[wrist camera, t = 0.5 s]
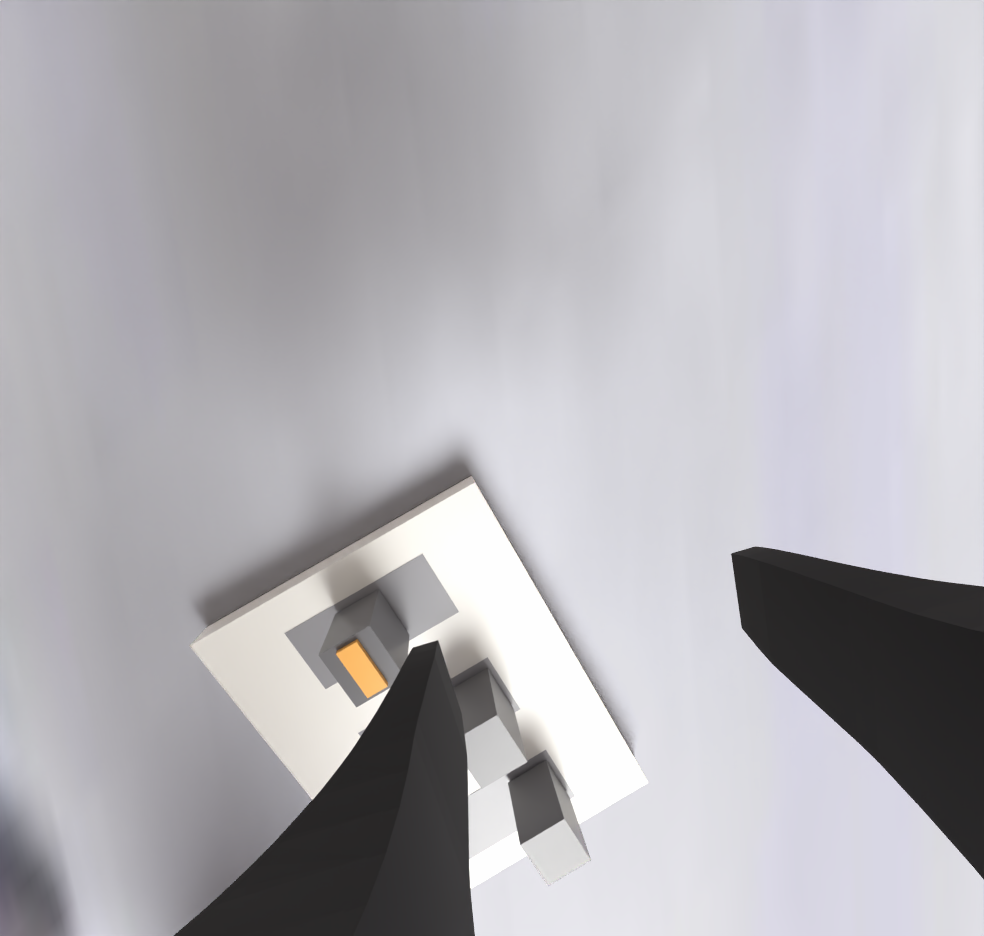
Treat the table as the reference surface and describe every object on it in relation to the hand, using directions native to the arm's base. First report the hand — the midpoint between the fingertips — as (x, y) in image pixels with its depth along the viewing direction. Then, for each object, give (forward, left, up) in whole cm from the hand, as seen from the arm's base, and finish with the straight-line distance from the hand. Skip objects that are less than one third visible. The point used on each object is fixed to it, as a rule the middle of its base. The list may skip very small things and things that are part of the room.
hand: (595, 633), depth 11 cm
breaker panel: (-7, -6, -10) cm, 14 cm away
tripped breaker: (-7, 0, -9) cm, 11 cm away
